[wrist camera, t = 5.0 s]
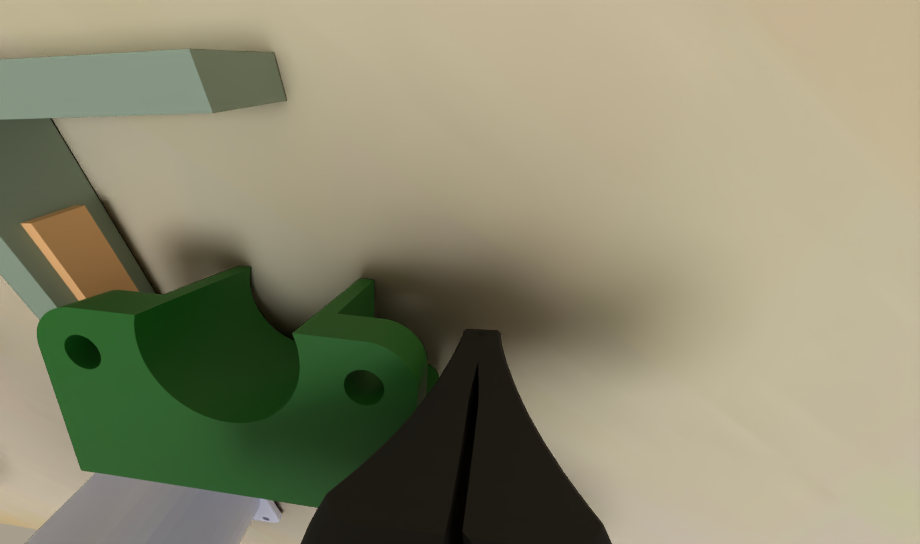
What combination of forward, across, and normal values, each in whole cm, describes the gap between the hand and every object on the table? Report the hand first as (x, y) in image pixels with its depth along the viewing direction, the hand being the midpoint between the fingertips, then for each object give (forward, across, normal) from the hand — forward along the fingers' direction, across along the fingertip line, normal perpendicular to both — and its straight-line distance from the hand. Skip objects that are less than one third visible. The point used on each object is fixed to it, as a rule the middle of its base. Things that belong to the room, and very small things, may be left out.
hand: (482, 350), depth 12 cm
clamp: (+2, +7, 0) cm, 7 cm away
